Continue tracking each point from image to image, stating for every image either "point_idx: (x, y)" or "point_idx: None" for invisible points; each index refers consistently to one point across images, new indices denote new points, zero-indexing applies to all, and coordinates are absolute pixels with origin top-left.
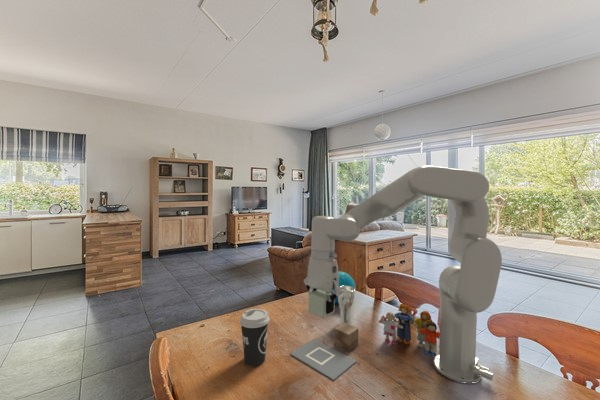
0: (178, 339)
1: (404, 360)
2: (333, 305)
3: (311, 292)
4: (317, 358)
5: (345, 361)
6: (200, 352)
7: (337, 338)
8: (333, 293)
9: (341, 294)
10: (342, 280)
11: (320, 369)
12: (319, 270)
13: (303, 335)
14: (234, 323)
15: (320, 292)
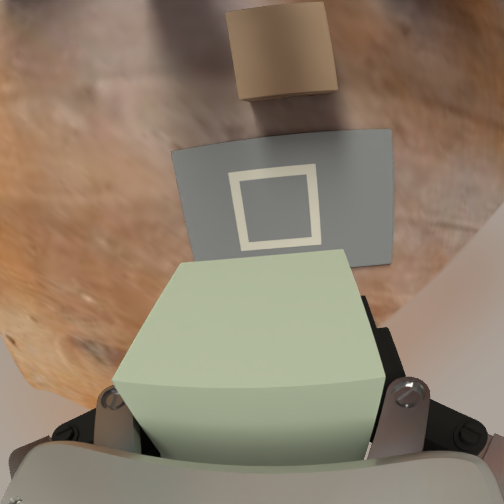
0: (51, 387)
1: (475, 15)
2: (396, 356)
3: None
4: (284, 230)
5: (366, 163)
6: (99, 391)
7: (263, 98)
8: (415, 450)
9: None
10: None
11: None
12: None
13: (123, 163)
14: (8, 291)
15: (224, 448)
